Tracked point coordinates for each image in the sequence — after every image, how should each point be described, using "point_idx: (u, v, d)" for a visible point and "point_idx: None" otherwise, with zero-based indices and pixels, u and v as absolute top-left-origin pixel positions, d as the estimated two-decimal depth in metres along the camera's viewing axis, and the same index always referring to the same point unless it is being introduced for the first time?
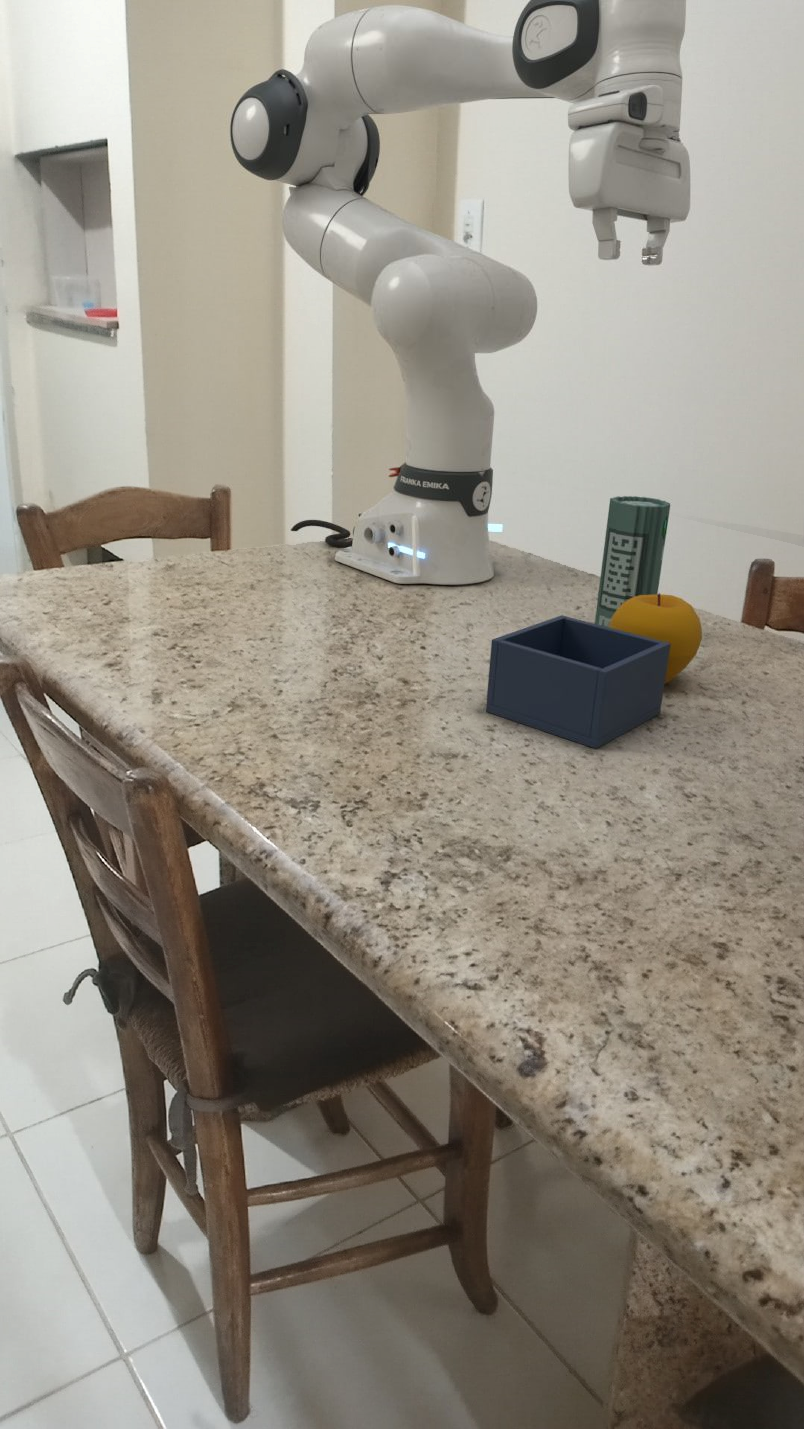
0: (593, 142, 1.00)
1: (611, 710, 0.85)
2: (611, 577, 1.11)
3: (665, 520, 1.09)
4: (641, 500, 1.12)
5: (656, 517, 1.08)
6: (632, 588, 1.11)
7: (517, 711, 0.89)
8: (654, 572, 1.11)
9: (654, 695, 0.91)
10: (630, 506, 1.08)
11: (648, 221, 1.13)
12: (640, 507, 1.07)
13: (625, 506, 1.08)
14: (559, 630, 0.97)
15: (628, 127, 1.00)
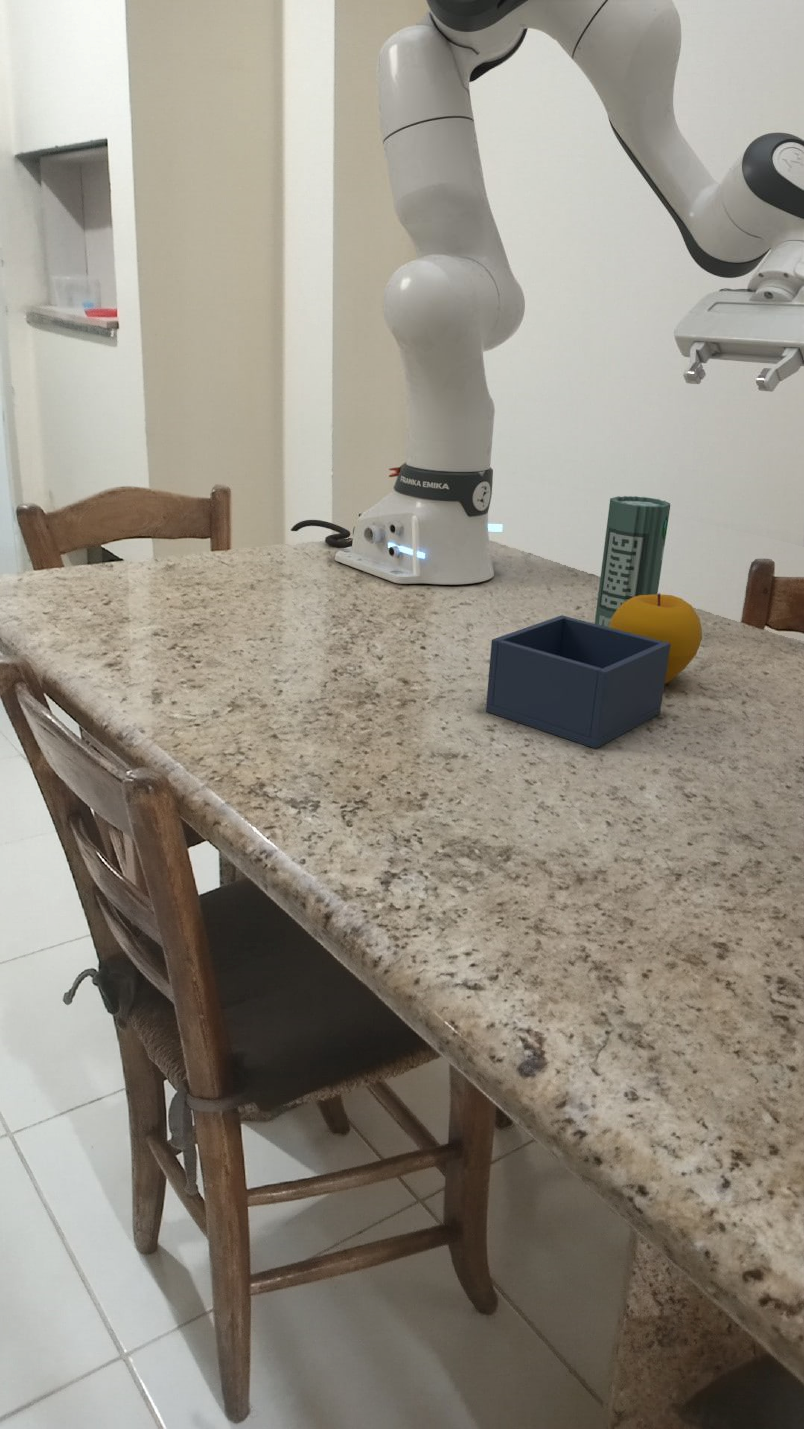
0: None
1: (611, 710, 0.85)
2: (611, 577, 1.11)
3: (666, 520, 1.09)
4: (641, 500, 1.12)
5: (656, 517, 1.08)
6: (632, 588, 1.11)
7: (517, 711, 0.89)
8: (654, 572, 1.11)
9: (654, 695, 0.91)
10: (630, 506, 1.08)
11: (705, 344, 1.17)
12: (640, 507, 1.07)
13: (625, 505, 1.08)
14: (559, 630, 0.97)
15: None
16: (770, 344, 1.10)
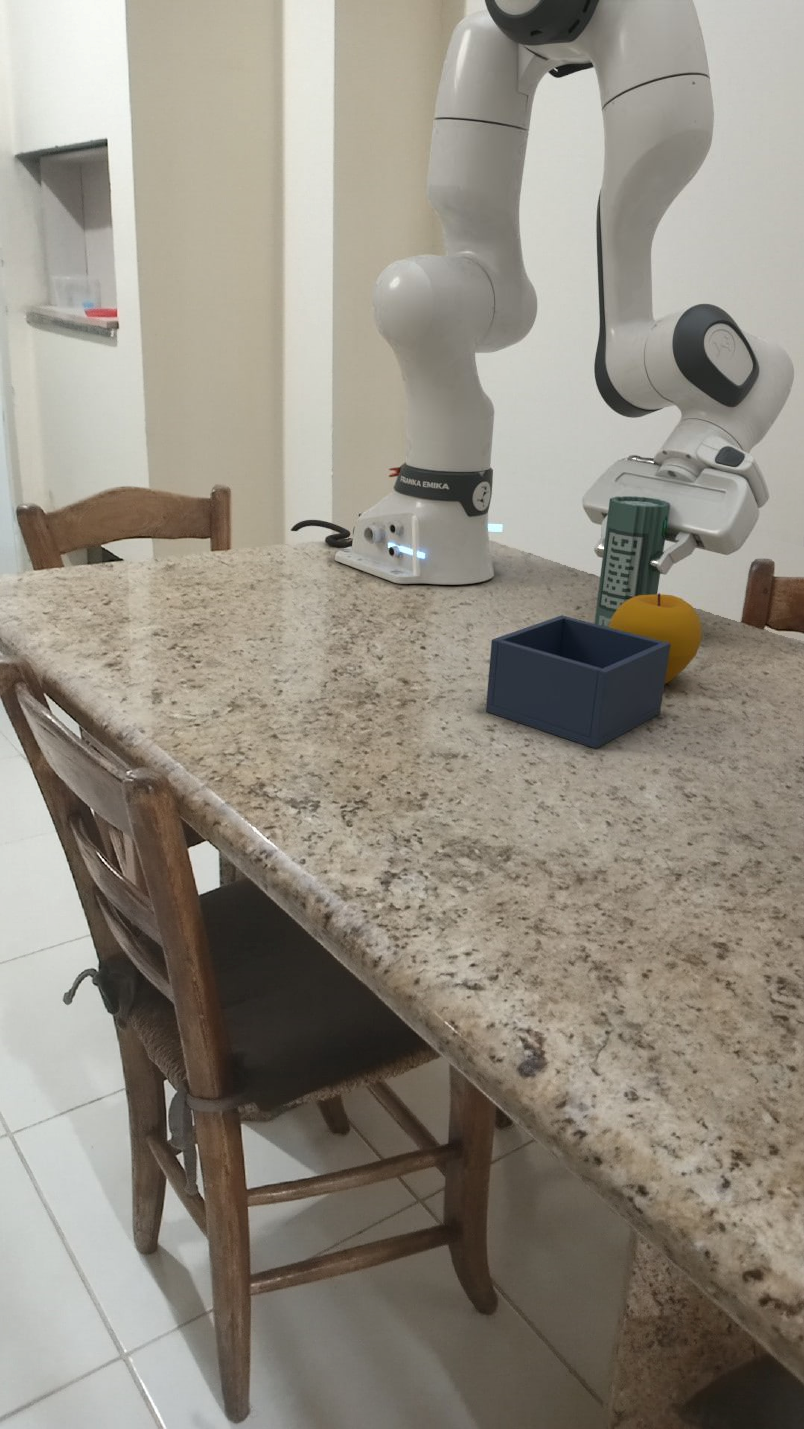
0: (754, 510, 1.07)
1: (611, 710, 0.85)
2: (611, 577, 1.11)
3: (665, 520, 1.09)
4: (641, 500, 1.12)
5: (655, 517, 1.08)
6: (632, 588, 1.11)
7: (517, 711, 0.89)
8: (654, 572, 1.11)
9: (654, 695, 0.91)
10: (630, 506, 1.08)
11: None
12: (640, 507, 1.07)
13: (624, 506, 1.08)
14: (559, 630, 0.97)
15: None
16: (671, 527, 1.10)
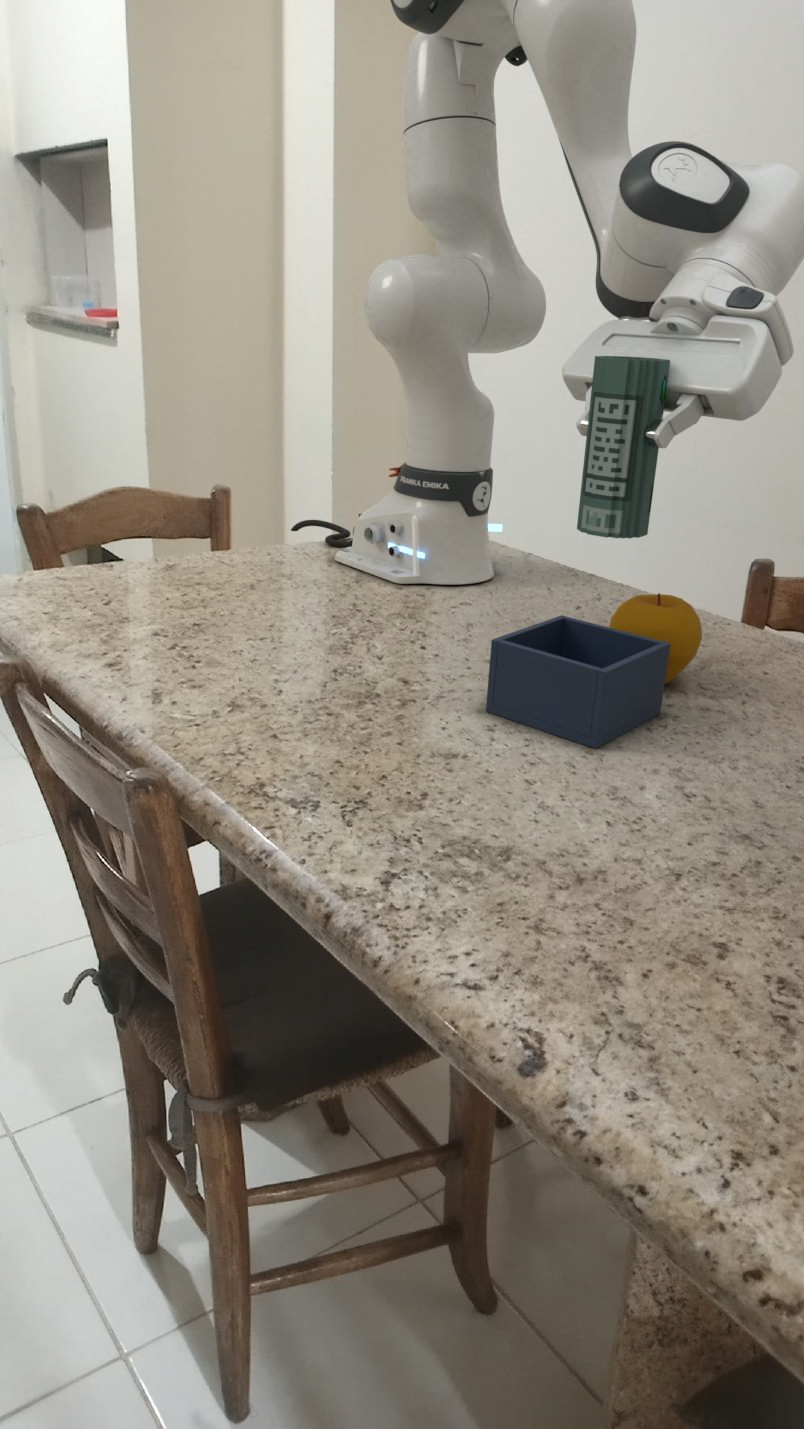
0: (776, 364, 0.85)
1: (611, 710, 0.85)
2: (597, 454, 0.89)
3: (664, 380, 0.87)
4: None
5: (652, 374, 0.86)
6: (623, 467, 0.89)
7: (517, 711, 0.89)
8: (650, 447, 0.89)
9: (654, 695, 0.91)
10: (620, 360, 0.86)
11: None
12: (632, 361, 0.86)
13: (613, 360, 0.86)
14: (559, 630, 0.97)
15: None
16: (672, 389, 0.88)
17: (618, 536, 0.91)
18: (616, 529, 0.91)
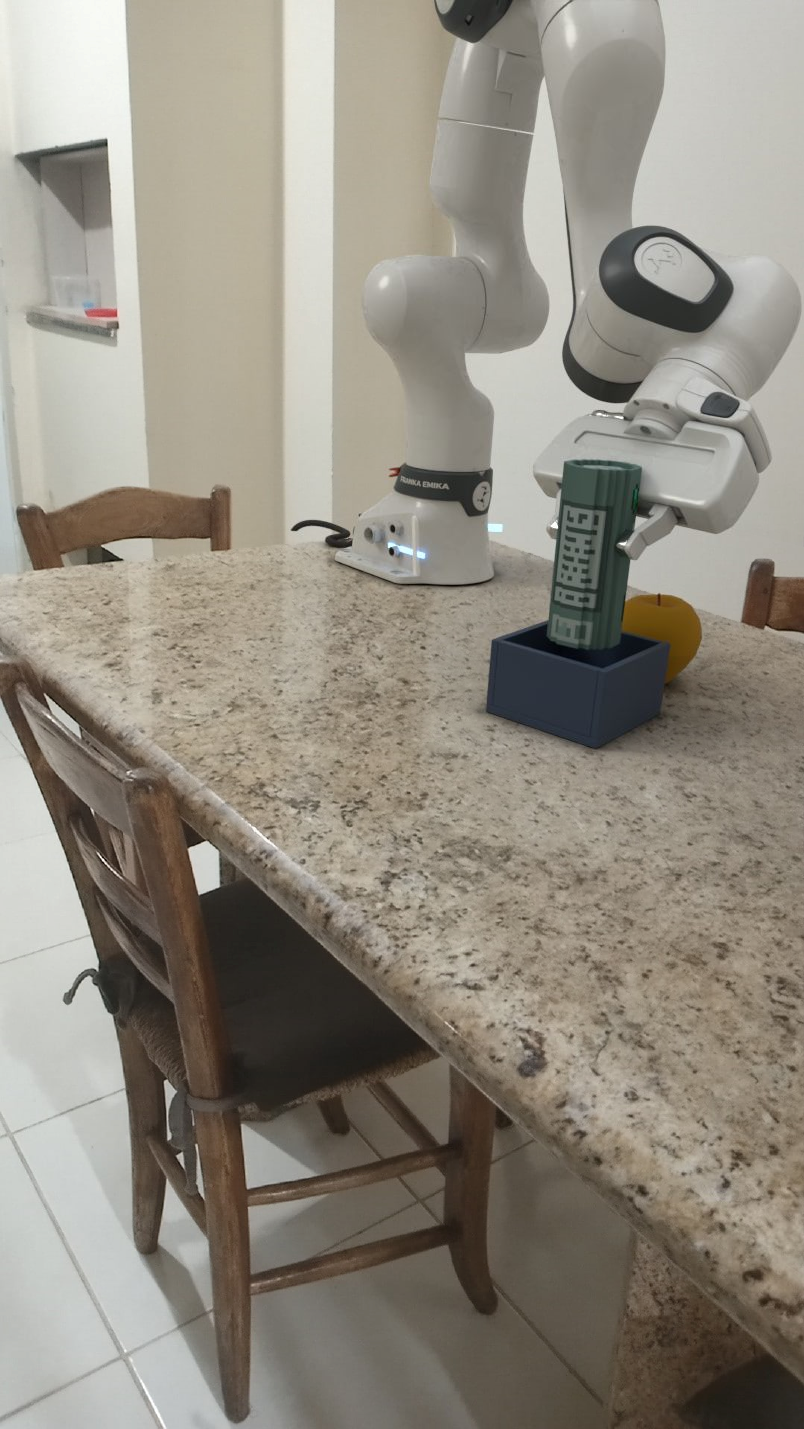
0: (752, 474, 0.82)
1: (611, 710, 0.85)
2: (566, 564, 0.85)
3: (636, 489, 0.84)
4: (605, 464, 0.87)
5: (622, 484, 0.82)
6: (593, 578, 0.85)
7: (517, 711, 0.89)
8: (621, 557, 0.85)
9: (654, 695, 0.91)
10: (588, 470, 0.82)
11: None
12: (601, 471, 0.82)
13: (581, 469, 0.82)
14: None
15: None
16: (644, 498, 0.84)
17: (588, 647, 0.87)
18: (586, 640, 0.87)
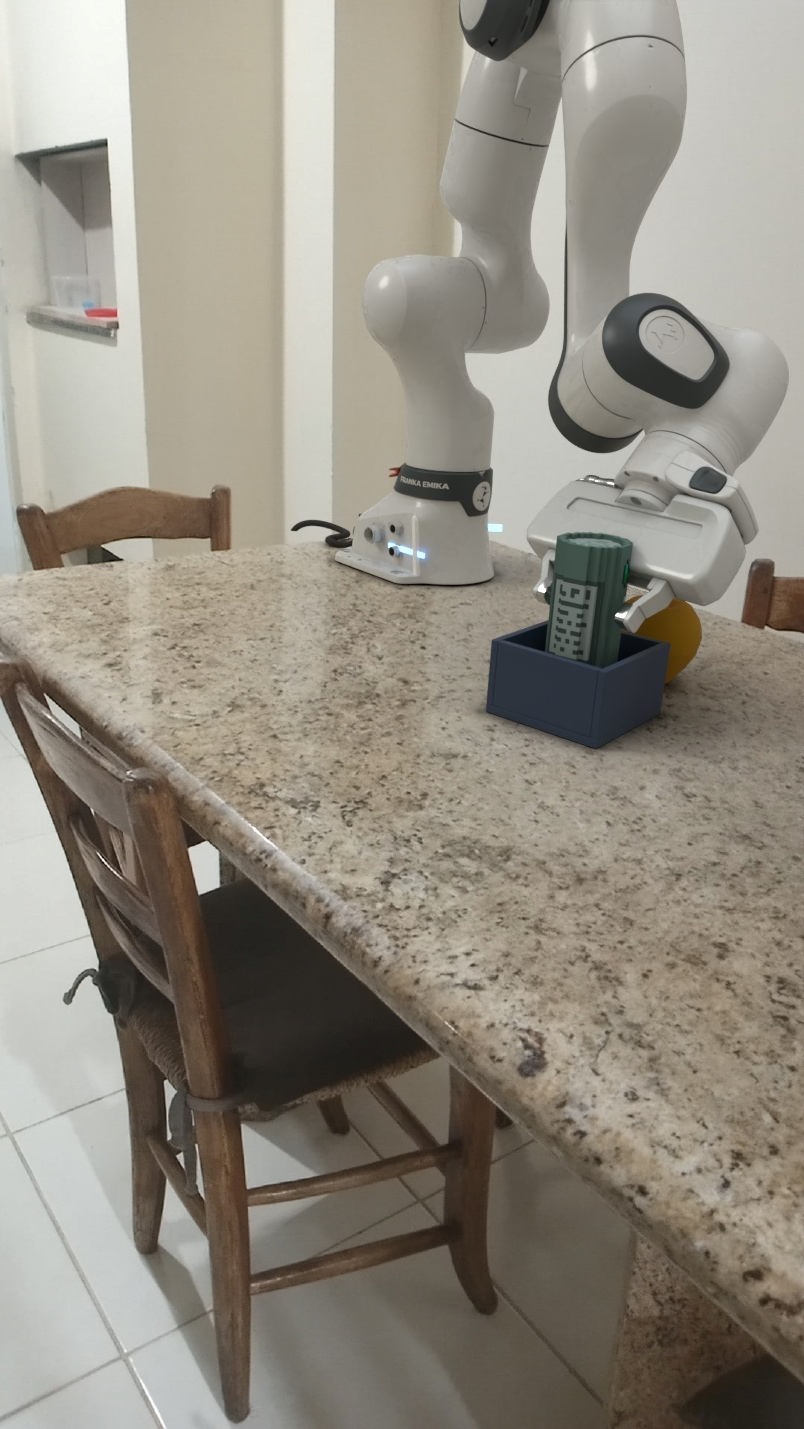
0: (739, 548, 0.84)
1: (611, 710, 0.85)
2: (558, 635, 0.88)
3: (627, 564, 0.86)
4: (597, 537, 0.89)
5: (614, 561, 0.84)
6: (585, 650, 0.87)
7: (517, 711, 0.89)
8: (612, 630, 0.87)
9: (654, 695, 0.91)
10: (580, 547, 0.84)
11: None
12: (593, 548, 0.84)
13: (574, 546, 0.85)
14: None
15: None
16: (634, 569, 0.86)
17: None
18: None
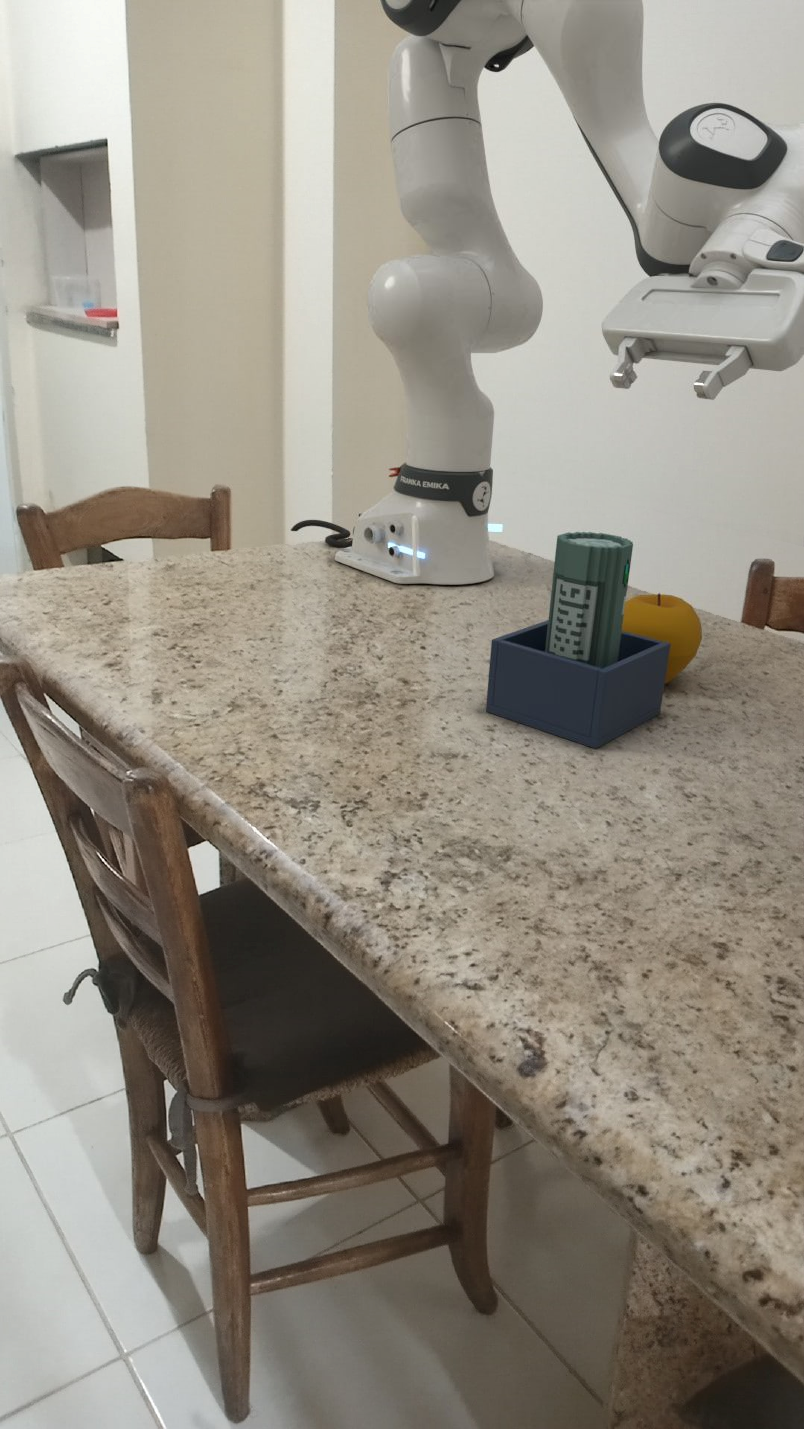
0: None
1: (611, 710, 0.85)
2: (559, 635, 0.88)
3: (627, 564, 0.86)
4: (597, 537, 0.89)
5: (614, 561, 0.84)
6: (585, 650, 0.87)
7: (517, 711, 0.89)
8: (612, 630, 0.87)
9: (654, 695, 0.91)
10: (581, 547, 0.84)
11: (637, 340, 0.96)
12: (593, 548, 0.84)
13: (574, 546, 0.85)
14: None
15: None
16: (712, 341, 0.90)
17: None
18: None
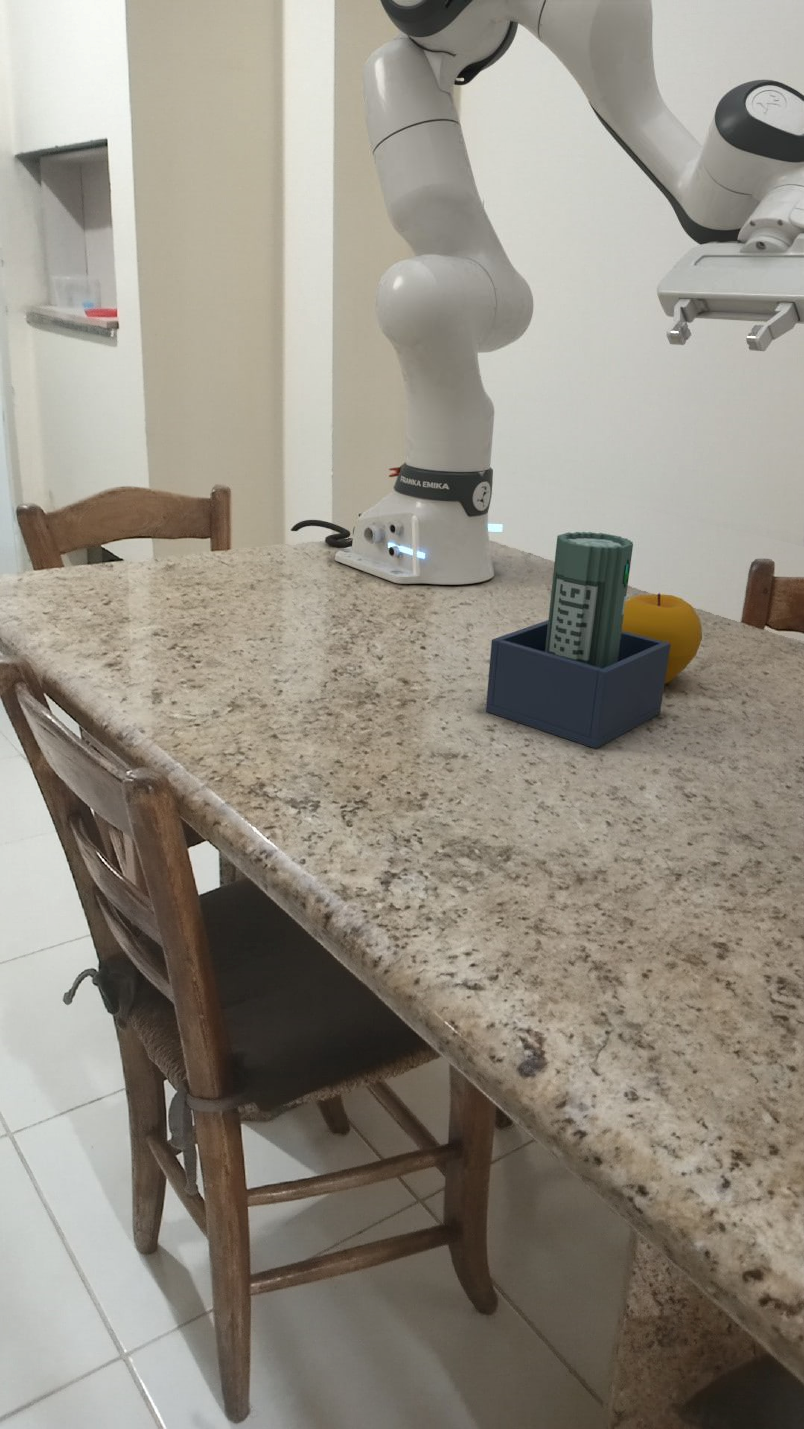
0: None
1: (611, 710, 0.85)
2: (559, 635, 0.88)
3: (627, 564, 0.86)
4: (597, 537, 0.89)
5: (614, 561, 0.84)
6: (585, 650, 0.87)
7: (517, 711, 0.89)
8: (612, 630, 0.87)
9: (654, 695, 0.91)
10: (581, 547, 0.84)
11: (691, 301, 1.06)
12: (593, 548, 0.84)
13: (574, 546, 0.85)
14: None
15: None
16: (762, 299, 1.00)
17: None
18: None
